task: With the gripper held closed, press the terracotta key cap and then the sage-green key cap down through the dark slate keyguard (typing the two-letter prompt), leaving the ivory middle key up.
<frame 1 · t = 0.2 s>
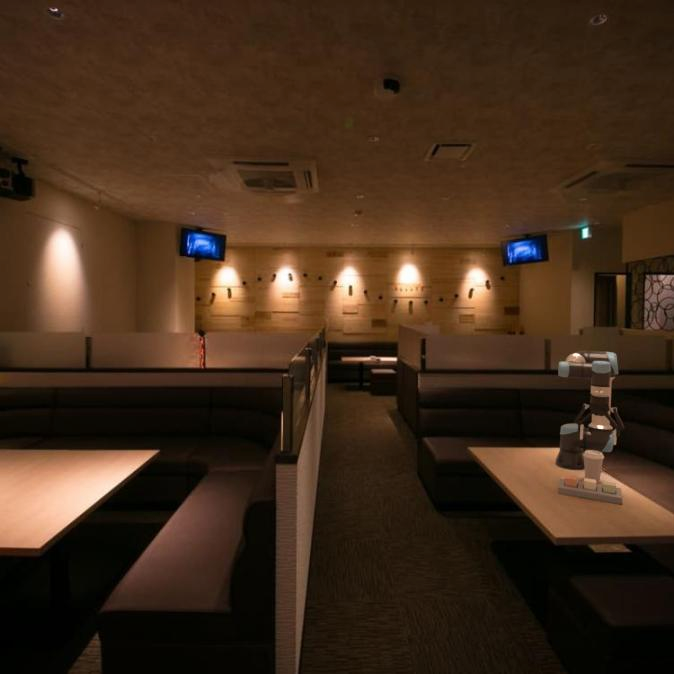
hand: (597, 441, 221), 27 cm above the table, fingers open, 13 cm apart
coffee cup: (592, 481, 246), on the table
terracotta key: (571, 481, 233), point 5 cm above the table, slide at 0.0 cm
keypad board: (589, 494, 229), on the table
sage key: (609, 487, 225), point 5 cm above the table, slide at 0.0 cm
ivory key: (589, 484, 229), point 5 cm above the table, slide at 0.0 cm
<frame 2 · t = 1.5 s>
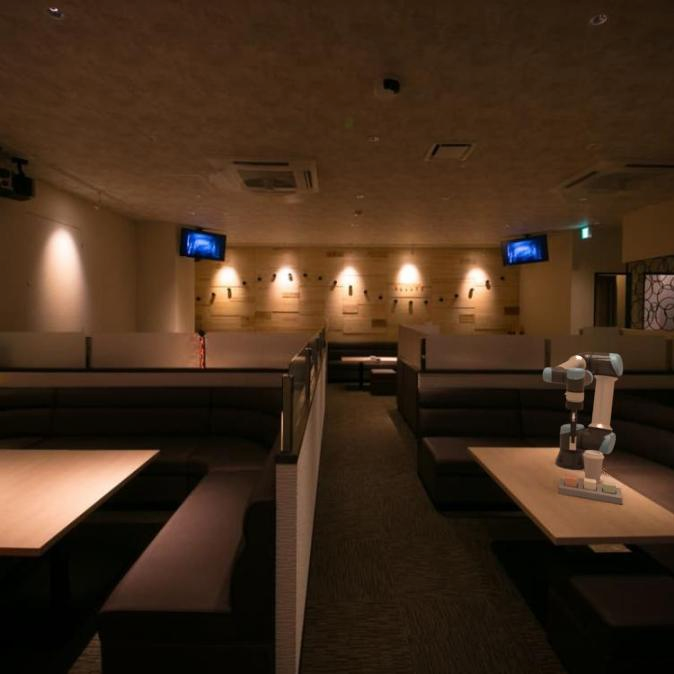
hand: (572, 449, 232), 20 cm above the table, fingers closed
nothing on the table moved.
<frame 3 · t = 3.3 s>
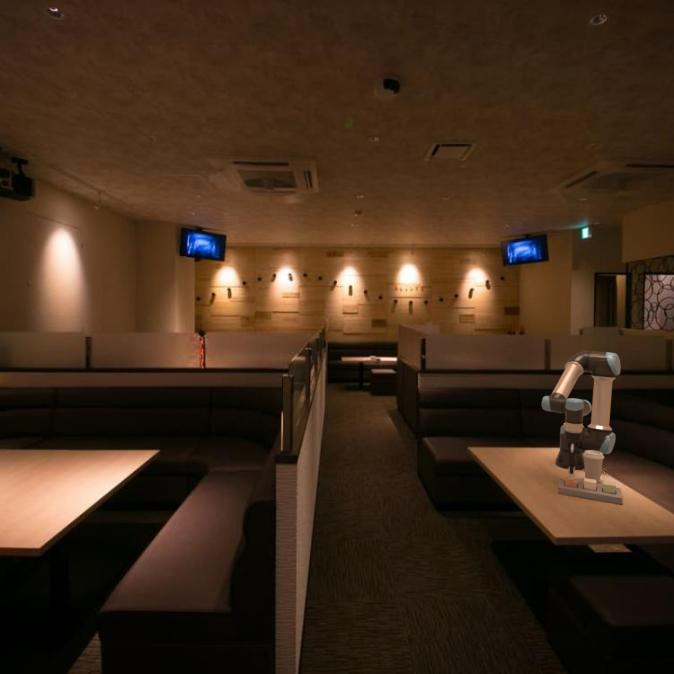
hand: (571, 479, 232), 6 cm above the table, fingers closed
terracotta key: (571, 483, 233), point 4 cm above the table, slide at 1.3 cm, touching gripper
everything else where it was.
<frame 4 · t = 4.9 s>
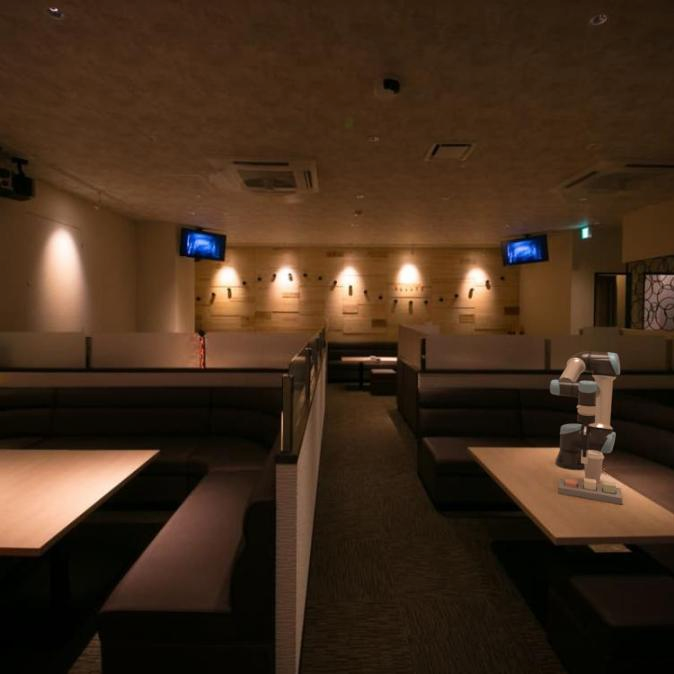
hand: (584, 463, 229), 15 cm above the table, fingers closed
terracotta key: (571, 484, 233), point 3 cm above the table, slide at 1.9 cm
everything else where it was.
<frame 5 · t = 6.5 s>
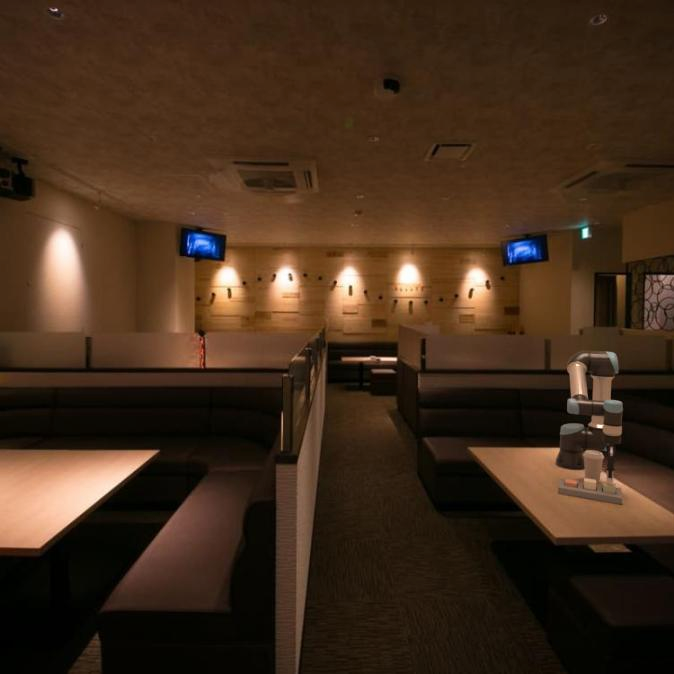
hand: (609, 484, 225), 6 cm above the table, fingers closed
sage key: (609, 488, 225), point 4 cm above the table, slide at 0.4 cm, touching gripper
everything else where it was.
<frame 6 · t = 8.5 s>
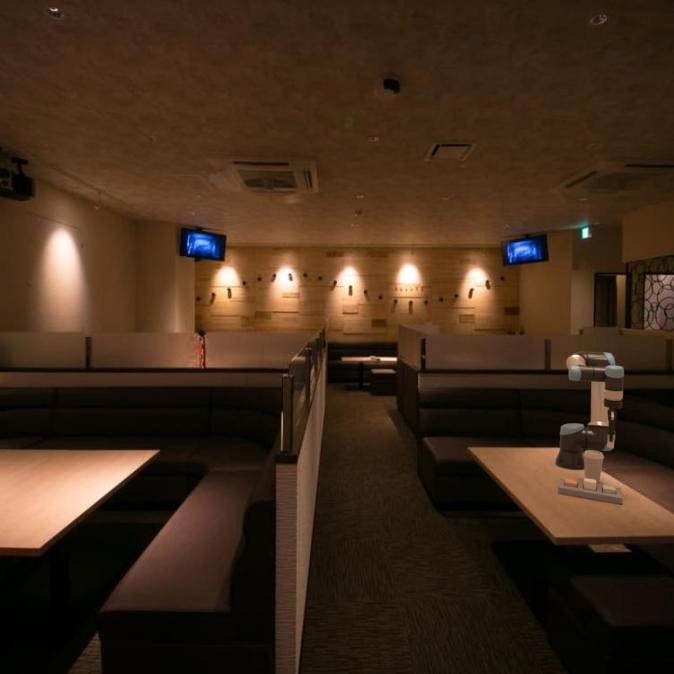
hand: (610, 447, 230), 22 cm above the table, fingers closed
sage key: (609, 491, 225), point 3 cm above the table, slide at 1.9 cm
everything else where it was.
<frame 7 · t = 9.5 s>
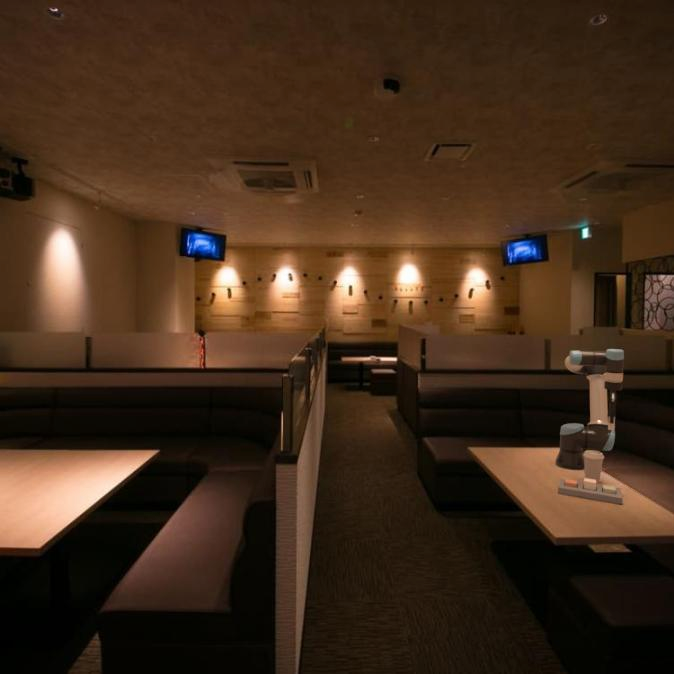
hand: (611, 429, 234), 29 cm above the table, fingers closed
nothing on the table moved.
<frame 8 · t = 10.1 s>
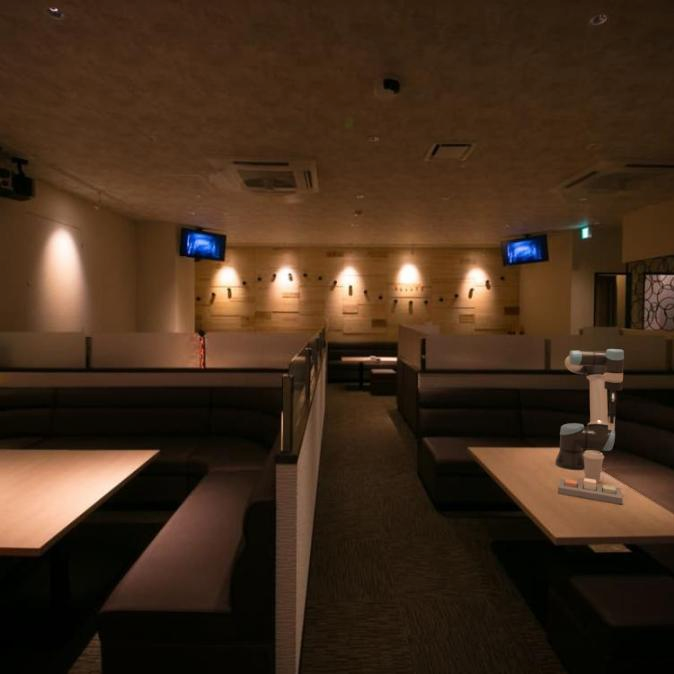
hand: (611, 429, 234), 29 cm above the table, fingers closed
nothing on the table moved.
at the end: terracotta key slide at 1.9 cm; sage key slide at 1.9 cm; ivory key slide at 0.0 cm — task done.
